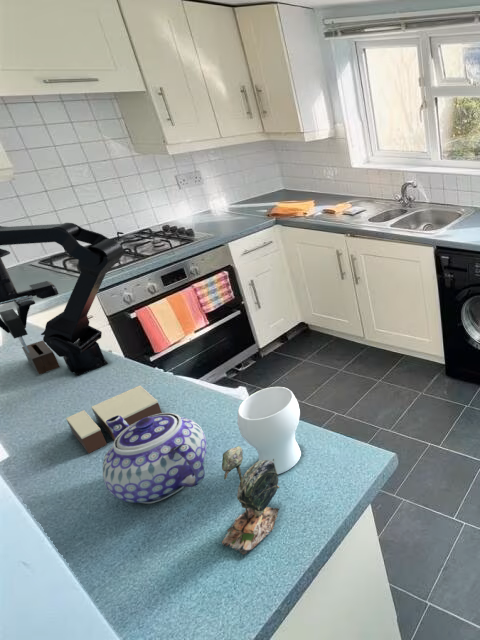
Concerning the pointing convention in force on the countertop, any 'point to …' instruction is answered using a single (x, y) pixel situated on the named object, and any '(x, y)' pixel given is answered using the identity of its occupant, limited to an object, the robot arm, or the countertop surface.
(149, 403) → the cake loaf
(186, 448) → the teapot
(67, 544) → the countertop surface
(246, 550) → the bird figurine
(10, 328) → the black handle
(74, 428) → the cream-topped brown block
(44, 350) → the knife block
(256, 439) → the cup
